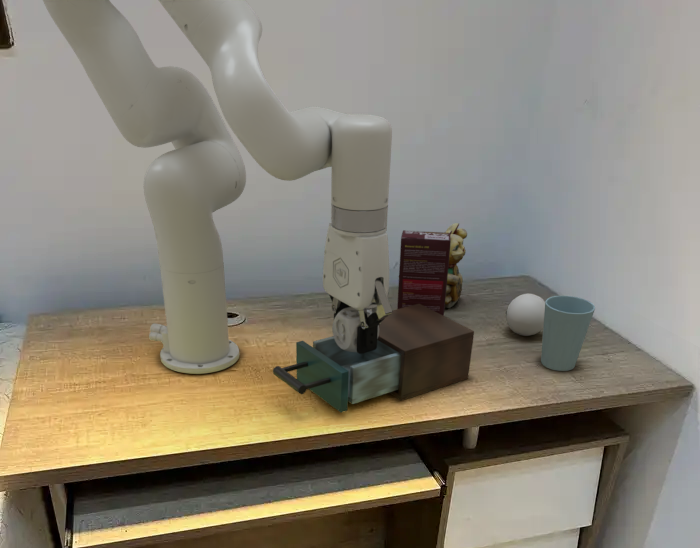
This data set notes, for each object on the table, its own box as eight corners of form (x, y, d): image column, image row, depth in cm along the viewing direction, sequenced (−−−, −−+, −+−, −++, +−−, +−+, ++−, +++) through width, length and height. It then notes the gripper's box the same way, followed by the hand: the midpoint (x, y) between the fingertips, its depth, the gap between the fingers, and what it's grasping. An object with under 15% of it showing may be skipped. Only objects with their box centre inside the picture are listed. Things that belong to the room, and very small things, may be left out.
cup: (590, 364, 122) (604, 304, 116) (566, 379, 117) (579, 317, 112) (551, 350, 126) (562, 291, 121) (525, 363, 122) (536, 303, 116)
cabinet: (401, 400, 110) (404, 351, 105) (350, 367, 118) (351, 320, 114) (468, 378, 116) (474, 331, 112) (415, 348, 125) (419, 303, 121)
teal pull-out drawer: (308, 423, 102) (308, 382, 98) (265, 389, 110) (263, 350, 106) (409, 390, 111) (412, 352, 107) (362, 361, 119) (364, 324, 115)
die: (378, 347, 107) (380, 315, 105) (350, 355, 105) (351, 322, 102) (359, 335, 111) (360, 304, 108) (331, 342, 108) (332, 310, 106)
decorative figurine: (453, 313, 138) (462, 233, 130) (411, 306, 141) (417, 227, 132) (465, 296, 146) (474, 220, 138) (425, 290, 148) (432, 214, 140)
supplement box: (442, 317, 137) (451, 231, 128) (442, 328, 133) (452, 240, 124) (396, 314, 137) (402, 229, 128) (394, 325, 133) (400, 237, 124)
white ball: (553, 339, 130) (561, 299, 126) (518, 345, 128) (525, 305, 123) (520, 318, 138) (527, 280, 134) (487, 323, 135) (492, 285, 131)
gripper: (300, 206, 102) (302, 329, 112) (375, 239, 90) (368, 372, 100) (345, 199, 105) (342, 319, 115) (422, 230, 94) (411, 359, 104)
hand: (354, 342), depth 108 cm, fingers closed on die, 5 cm apart
